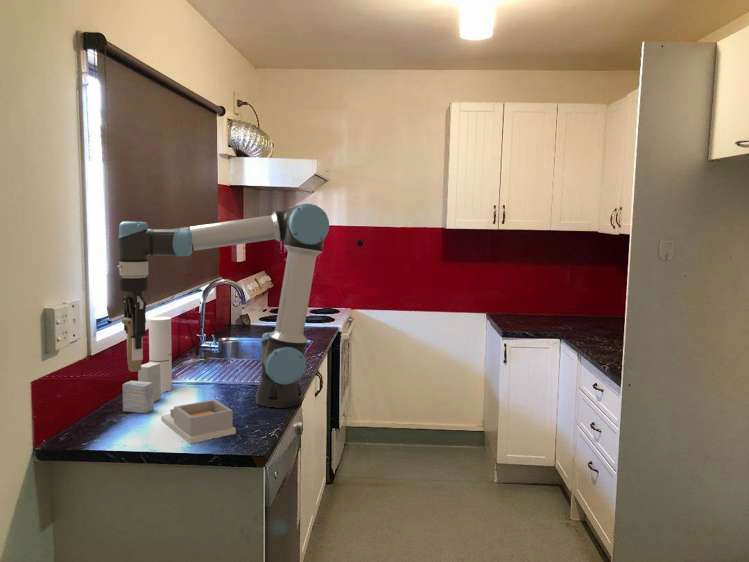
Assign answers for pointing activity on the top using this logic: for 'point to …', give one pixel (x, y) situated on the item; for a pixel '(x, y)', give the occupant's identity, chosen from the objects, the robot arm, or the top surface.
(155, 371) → the skincare box
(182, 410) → the switch panel
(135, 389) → the medicine box
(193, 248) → the robot arm
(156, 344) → the cylindrical container
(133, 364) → the handle
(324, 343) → the top surface
